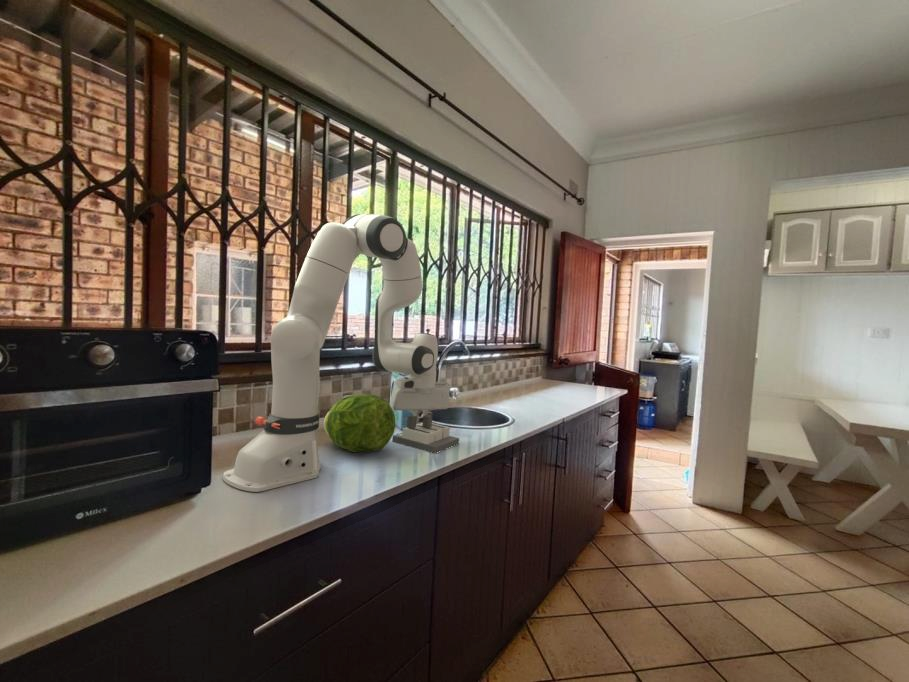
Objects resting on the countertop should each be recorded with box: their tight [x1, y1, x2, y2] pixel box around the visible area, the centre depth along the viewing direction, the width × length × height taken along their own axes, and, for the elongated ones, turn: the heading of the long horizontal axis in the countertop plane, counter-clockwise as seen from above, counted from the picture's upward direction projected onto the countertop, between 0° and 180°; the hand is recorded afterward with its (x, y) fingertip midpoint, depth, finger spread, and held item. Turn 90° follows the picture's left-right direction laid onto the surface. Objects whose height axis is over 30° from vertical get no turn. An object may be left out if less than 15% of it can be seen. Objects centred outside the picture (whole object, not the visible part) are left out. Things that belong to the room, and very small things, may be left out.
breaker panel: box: [391, 422, 460, 454], centre depth 134 cm, size 14×17×5 cm
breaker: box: [407, 415, 418, 429], centre depth 131 cm, size 2×2×4 cm
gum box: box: [389, 372, 414, 431], centre depth 156 cm, size 20×5×23 cm, turn 22°
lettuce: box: [323, 393, 396, 454], centre depth 122 cm, size 17×23×17 cm
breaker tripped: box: [422, 415, 433, 428], centre depth 134 cm, size 2×2×4 cm
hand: (419, 422), depth 135 cm, fingers closed
